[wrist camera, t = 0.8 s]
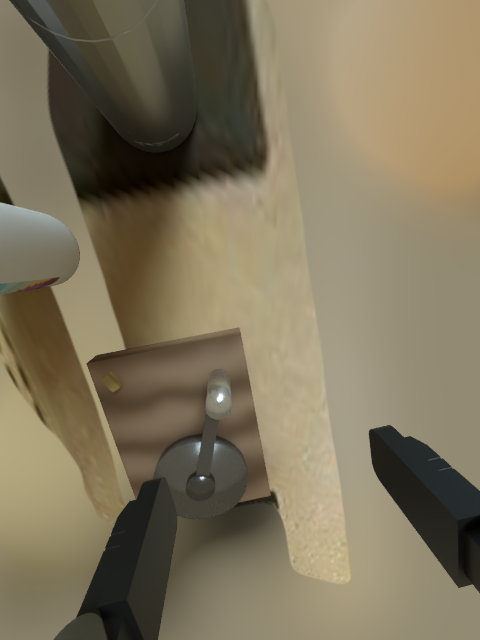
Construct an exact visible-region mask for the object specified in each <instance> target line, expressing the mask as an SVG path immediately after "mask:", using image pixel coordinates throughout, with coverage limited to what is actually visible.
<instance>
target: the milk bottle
mask: <svg viewBox="0 0 480 640" xmlns="http://www.w3.org/2000/svg"><path fill="white" fill-rule="evenodd" d="M79 260H80V252H79V246H78V244H77V241H76V239H75V237H74V235H73V234H72V232H71V231H70V230H69V229H68V228H67V226H65V225H64V224H63V223H62V222H61V221H59V220H58V219H56V218H54V217H52V216H50V215H47V214H44V213H40V212H36V211H32V210H28V209H24V208H20V207H16V206H12V205H8V204H4V203H0V295H3V294H9V293H15V292H21V291H26V290H32V289H38V288H43V287H49V286H53V285H57V284H60V283H63V282H65V281H66V280H68V279H69V278H70V277H71V276H72V275H73V274H74V272H75V271H76V269H77V267H78V264H79Z"/></svg>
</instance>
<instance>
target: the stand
mask: <svg viewBox="0 0 480 640" xmlns="http://www.w3.org/2000/svg"><path fill="white" fill-rule="evenodd" d="M87 366H88V369H89V372H90V374H91V377H92V380H93V382H94V385H95V388H96V391H97V394H98V396H99V399H100V402H101V404H102V407H103V410H104V413H105V416H106V418H107V421H108V424H109V426H110V429H111V432H112V435H113V437H114V440H115V443H116V446H117V448H118V451H119V454H120V456H121V460H122V462H123V465H124V468H125V470H126V473H127V476H128V478H129V481H130V484H131V487H132V489H133V492H134V495H135V498H136V499H137V496H138V494H139V491H140V488H141V486H142V484H143V482H145V481H149V480H153V476H154V472H155V469H156V465H157V462H158V460H159V458H160V456H161V454H162V453H163V452H164V450H165V449H166V448H167V447H168V446H170V445H171V444H172V443H174V442H175V441H177V440H179V439H181V438H184V437H187V436H190V435H196V434H203V427H204V421H205V415H206V410H205V407H206V396H207V385H208V376H209V374H210V373H211V372H212V371H213V370H216V369H222V370H225V371H226V372H227V373H228V374H229V377H230V387H231V399H232V411H231V413H230V415H229V416H228V417H226V418H224V419H220V420H219V423H218V429H217V434H216V436H219V437H222V438H224V439H226V440H228V441H230V442H231V443H233V444H234V445H235V446H236V447H237V448H238V449H239V450H240V451H241V453H242V455H243V456H244V459H245V462H246V467H247V475H248V483H247V488H246V491H245V493H244V495H243V497H242V498H241V500H240V501H239V502H243V501H248V500H252V499H257V498H262V497H266V496H271V494H270V488H269V483H268V478H267V472H266V467H265V462H264V456H263V451H262V445H261V440H260V435H259V429H258V424H257V418H256V413H255V408H254V402H253V397H252V391H251V386H250V381H249V375H248V370H247V365H246V359H245V354H244V348H243V343H242V338H241V333H240V329H239V328H235V329H230V330H225V331H219V332H214V333H209V334H204V335H199V336H194V337H188V338H183V339H178V340H173V341H168V342H163V343H157V344H152V345H147V346H142V347H137V348H132V349H127V350H121V351H116V352H111V353H106V354H101V355H97V356H95V357H94V358H93V359H92V360H90V361H89V362H88V363H87ZM239 502H238V503H239ZM177 516H178V515H177Z"/></svg>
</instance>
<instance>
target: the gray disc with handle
mask: <svg viewBox="0 0 480 640" xmlns="http://www.w3.org/2000/svg"><path fill="white" fill-rule="evenodd" d="M205 410H206V415H205V421H204V427H203V434H196V435H190V436H187V437H184V438H181V439H179V440H177V441H175V442H174V443H172V444H171V445H170V446H168V447H167V448H166V449H165V450H164V452H163V453H162V454H161V456H160V458H159V460H158V462H157V465H156V469H155V472H154V476H153V479H157V478H162V477H165V478H166V480H167V483H168V486H169V489H170V492H171V495H172V498H173V501H174V504H175V507H176V512H177V515H178V516H181V517H184V518H190V519H206V518H212V517H215V516H218V515H221V514H223V513H225V512H226V511H228V510H230V509H231V508H233V507H234V506H235V505H236V504H237V503H238V502H239V501H240V500H241V498H242V497H243V495H244V493H245V491H246V488H247V483H248V475H247V467H246V462H245V459H244V456H243V455H242V453H241V451H240V450H239V449H238V448H237V447H236V446H235V445H234V444H233V443H231V442H230V441H228V440H226V439H224V438H222V437H219V436H216V434H217V429H218V423H219V420H220V419H224V418H226V417H228V416H229V415H230V413H231V411H232V399H231V387H230V377H229V374H228V373H227V372H226V371H225V370H222V369H216V370H213V371H212V372H211V373H210V374H209V376H208V385H207V396H206V407H205Z"/></svg>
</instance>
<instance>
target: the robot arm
mask: <svg viewBox="0 0 480 640" xmlns="http://www.w3.org/2000/svg"><path fill="white" fill-rule="evenodd" d="M10 2H11V3H12V4H13V5H14V7H15V8H16V9H17V10H18V12H19V13H20V14H21V15H22V16H23V18H24V19H25V20H26V21H27V22H28V24H29V25H30V26H31V27H32V29H33V30H34V31H35V32H36V33H37V35H38V36H39V37H40V38H41V40H42V41H43V42H44V43H45V45H46V46H47V47H48V48H49V49H50V51H51V52H52V53H53V54H54V56H55V57H56V58H57V59H58V60H59V62H60V63H61V64H62V65H63V67H64V68H65V69H66V70H67V71H68V73H69V74H70V75H71V76H72V78H73V79H74V80H75V81H76V82H77V84H78V85H79V86H80V87H81V89H82V90H83V91H84V92H85V94H86V95H87V96H88V97H89V98H90V100H91V101H92V102H93V103H94V105H95V106H96V107H97V108H98V109H99V111H100V112H101V113H102V114H103V116H104V117H105V118H106V119H107V121H108V122H109V123H110V124H111V125H112V127H113V128H114V129H115V130H116V132H117V133H118V134H119V135H120V136H121V137H122V138H123V139H124V140H125V141H126V142H128V143H129V144H131V145H132V146H134V147H136V148H138V149H140V150H143V151H147V152H152V153H157V152H165V151H169V150H172V149H173V148H175V147H177V146H179V145H180V144H181V143H182V142H183V141H184V140H185V139H186V138H187V137H188V135H189V134H190V132H191V131H192V128H193V126H194V123H195V121H196V115H197V93H196V86H195V79H194V70H193V63H192V56H191V48H190V41H189V34H188V27H187V19H186V12H185V5H184V0H10ZM369 439H370V448H371V458H372V464H373V468H374V471H375V473H376V475H377V477H378V479H379V480H380V482H381V483H382V485H383V486H384V487H385V489H386V490H387V491H388V493H389V494H390V495H391V497H392V498H393V499H394V501H395V502H396V503H397V505H398V506H399V508H400V509H401V510H402V512H403V513H404V514H405V516H406V517H407V518H408V520H409V521H410V523H411V524H412V525H413V527H414V528H415V529H416V531H417V532H418V533H419V535H420V536H421V537H422V539H423V540H424V541H425V543H426V544H427V546H428V547H429V548H430V550H431V551H432V552H433V554H434V555H435V557H436V558H437V559H438V561H439V562H440V563H441V564H442V566H443V567H444V569H445V570H446V571H447V573H448V574H449V575H450V577H451V578H452V579H453V581H454V582H455V584H456V585H457V586H458V588H460V587H464V586H468V585H471V584H473V585H474V586H475V588H476V589H477V590H478V591H479V593H480V491H479V490H478V489H477V488H476V487H475V486H473V485H472V484H471V483H470V482H469V481H468V480H467V479H465V478H464V477H463V476H462V475H461V474H460V473H458V472H457V471H456V470H455V469H452V467H451V466H450V465H449V464H448V463H447V462H446V461H445V460H444V459H441V458H440V456H439V455H438V454H437V453H436V452H434V451H433V450H432V449H431V448H430V447H429V446H428V445H426V444H424V443H422V442H420V441H418V440H416V439H415V438H413V437H411V436H409V437H405V438H404V437H403V436H402V435H401V434H400V433H399V432H398V431H397V430H396V429H395V428H393V427H392V426H390V425H387V426H383V427H379V428H375V429H371V430H370V431H369ZM176 530H177V512H176V507H175V504H174V501H173V498H172V495H171V492H170V489H169V486H168V483H167V480H166V478H165V477H162V478H157V479H153V480H149V481H145V482H143V484H142V486H141V488H140V491H139V494H138V496H137V499H136V500H133V501H129V503H128V504H127V505H126V507H125V508H124V509H123V511H122V512H121V513H120V515H119V516H118V518H117V520H116V523H115V525H114V528H113V530H112V533H111V536H110V537H109V540H108V542H107V545H106V550H105V551H104V552H103V554H102V557H101V559H100V562H99V564H98V567H97V569H96V572H95V574H94V576H93V579H92V581H91V584H90V586H89V588H88V591H87V594H86V596H85V599H84V601H83V603H82V606H81V608H80V610H79V612H78V615H77V617H76V618H75V619H74V620H72V621H71V622H70V623H69V624H67V625H66V626H65V627H64V628H63V629H62V630H61V631H60V632H59V634H58V635H57V636H56V637H55V638H54V640H158V636H159V629H160V624H161V617H162V611H163V606H164V600H165V594H166V588H167V583H168V576H169V571H170V565H171V559H172V553H173V547H174V541H175V535H176Z"/></svg>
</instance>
